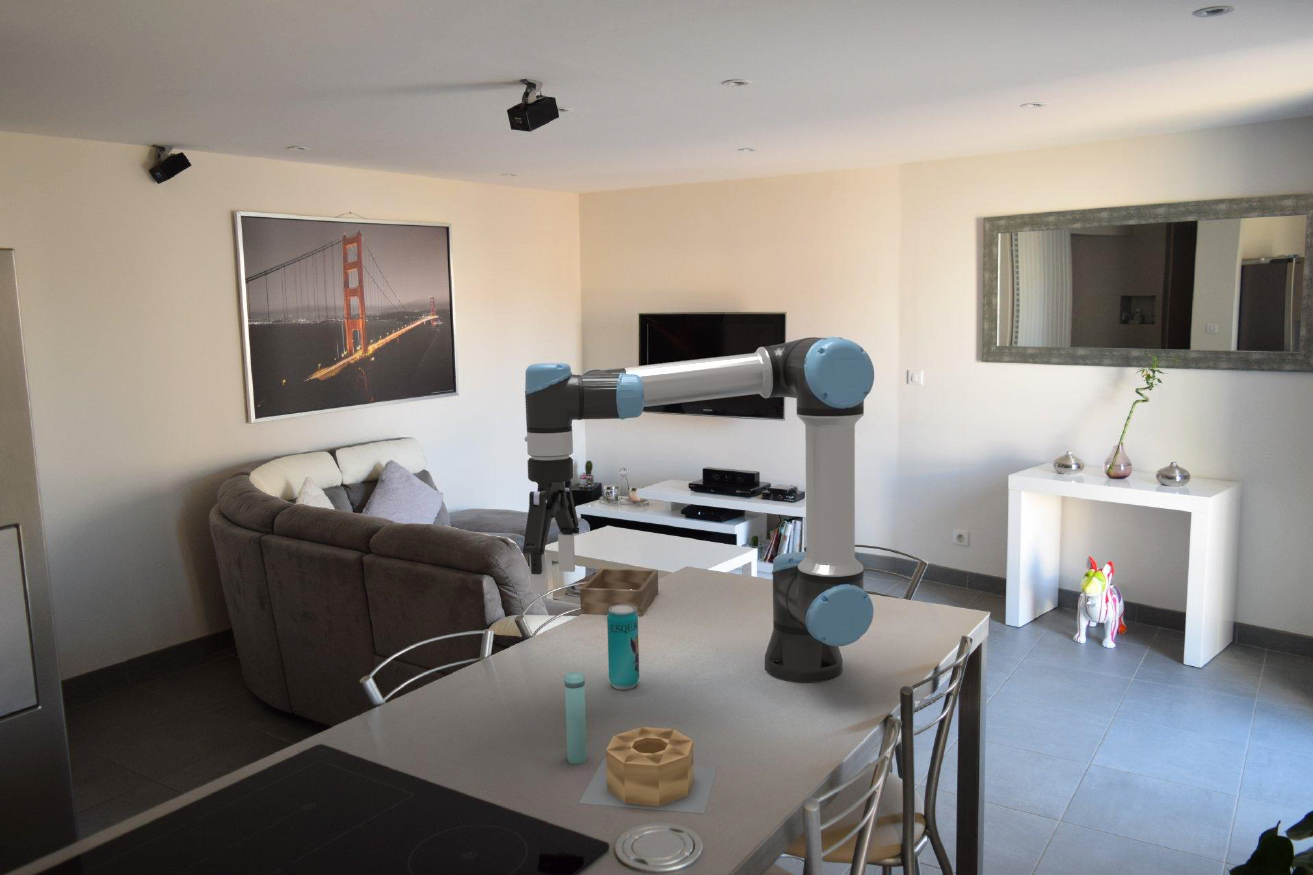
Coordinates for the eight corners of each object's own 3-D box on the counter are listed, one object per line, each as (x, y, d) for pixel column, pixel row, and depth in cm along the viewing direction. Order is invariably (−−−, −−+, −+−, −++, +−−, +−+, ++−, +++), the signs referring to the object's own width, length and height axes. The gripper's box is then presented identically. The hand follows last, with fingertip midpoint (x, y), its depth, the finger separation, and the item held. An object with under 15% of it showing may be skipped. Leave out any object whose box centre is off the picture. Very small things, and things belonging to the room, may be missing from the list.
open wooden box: (658, 593, 237) (657, 570, 236) (642, 616, 218) (641, 591, 218) (601, 591, 240) (600, 568, 239) (580, 613, 221) (579, 589, 221)
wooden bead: (697, 768, 142) (696, 730, 141) (684, 808, 130) (683, 767, 130) (620, 762, 144) (619, 725, 144) (600, 801, 133) (599, 761, 132)
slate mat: (717, 768, 142) (717, 766, 142) (704, 816, 129) (704, 813, 129) (603, 760, 146) (603, 758, 146) (578, 805, 132) (578, 803, 132)
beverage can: (635, 691, 173) (633, 613, 171) (605, 690, 174) (603, 612, 173) (642, 680, 179) (640, 604, 177) (613, 678, 180) (611, 603, 178)
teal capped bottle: (589, 758, 147) (586, 672, 145) (584, 767, 144) (581, 680, 142) (570, 756, 148) (567, 671, 146) (564, 765, 145) (561, 678, 143)
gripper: (554, 446, 168) (557, 562, 170) (499, 467, 144) (503, 601, 146) (594, 447, 166) (597, 563, 168) (545, 468, 142) (548, 603, 144)
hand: (553, 581), depth 157 cm, fingers open, 13 cm apart
